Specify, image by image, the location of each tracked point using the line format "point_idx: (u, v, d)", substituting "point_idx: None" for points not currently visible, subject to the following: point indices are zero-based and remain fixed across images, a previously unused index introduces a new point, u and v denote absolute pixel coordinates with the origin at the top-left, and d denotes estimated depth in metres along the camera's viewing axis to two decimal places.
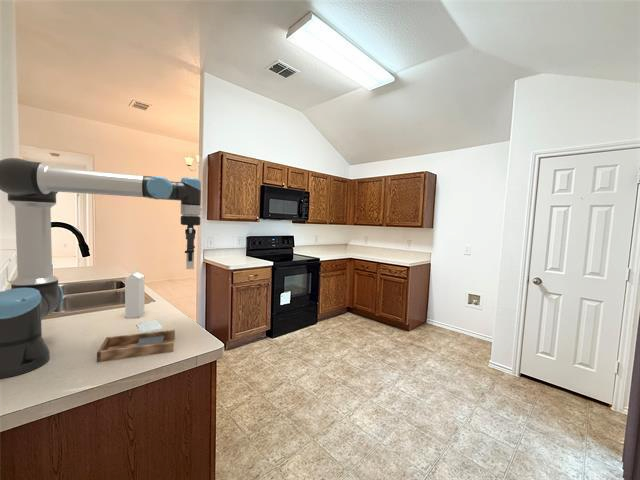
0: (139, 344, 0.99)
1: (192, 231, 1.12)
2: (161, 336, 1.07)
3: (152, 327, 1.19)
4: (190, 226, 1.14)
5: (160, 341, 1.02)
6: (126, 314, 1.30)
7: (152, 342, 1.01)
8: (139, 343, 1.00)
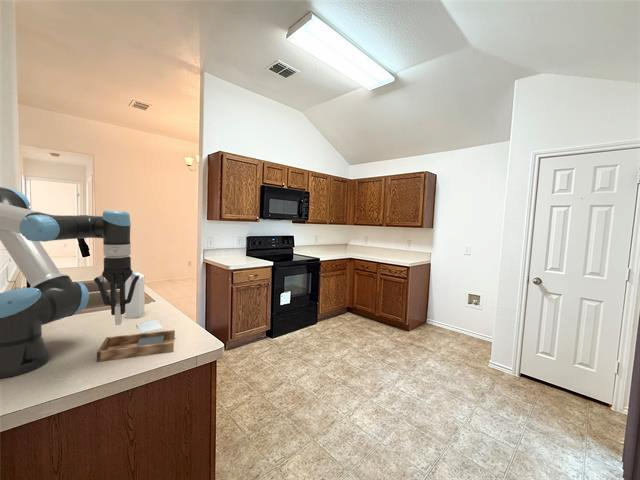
0: (139, 344, 0.99)
1: None
2: (161, 336, 1.07)
3: (151, 327, 1.19)
4: None
5: (160, 341, 1.02)
6: (126, 314, 1.30)
7: (152, 342, 1.01)
8: (139, 343, 1.00)
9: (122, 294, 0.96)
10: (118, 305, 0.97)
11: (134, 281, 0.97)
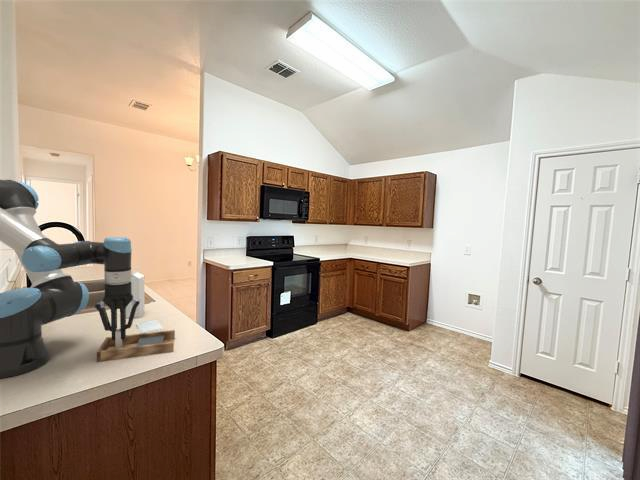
0: (139, 344, 0.99)
1: None
2: (161, 336, 1.07)
3: (151, 327, 1.19)
4: None
5: (160, 341, 1.02)
6: (126, 314, 1.30)
7: (152, 342, 1.01)
8: (139, 343, 1.00)
9: (123, 319, 0.97)
10: (118, 330, 0.98)
11: (134, 306, 0.98)
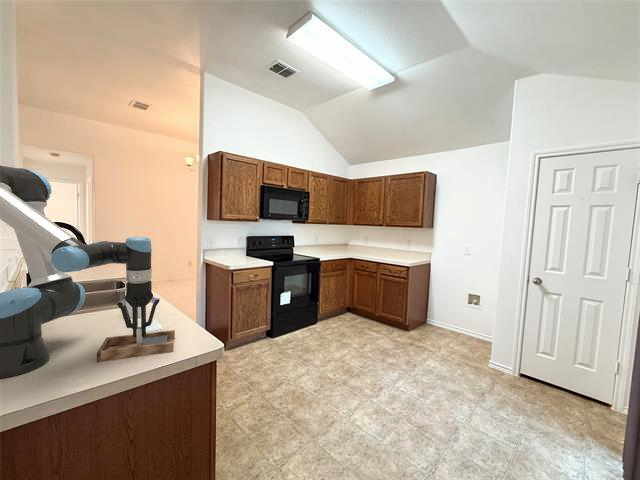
0: (143, 343, 1.00)
1: None
2: (165, 335, 1.07)
3: (151, 327, 1.19)
4: None
5: (164, 341, 1.03)
6: None
7: (156, 342, 1.02)
8: (143, 342, 1.01)
9: (143, 317, 1.00)
10: (139, 328, 1.00)
11: (155, 304, 1.01)
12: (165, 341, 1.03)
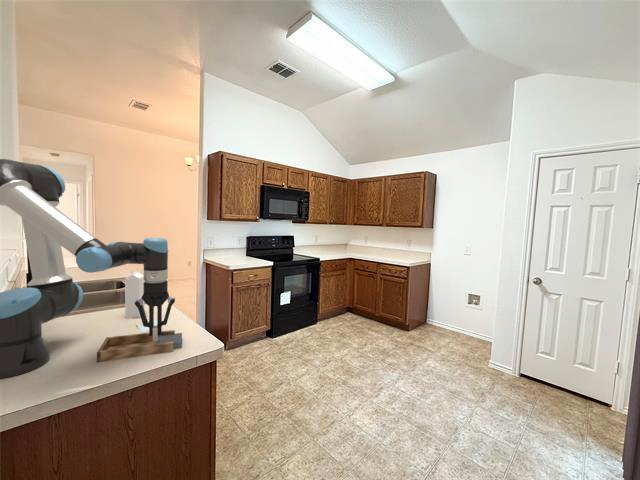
0: (159, 341, 1.02)
1: None
2: (179, 334, 1.09)
3: None
4: None
5: (179, 339, 1.05)
6: (126, 314, 1.30)
7: (171, 340, 1.04)
8: (159, 340, 1.03)
9: (159, 316, 1.02)
10: (155, 326, 1.03)
11: (170, 304, 1.03)
12: (180, 339, 1.05)
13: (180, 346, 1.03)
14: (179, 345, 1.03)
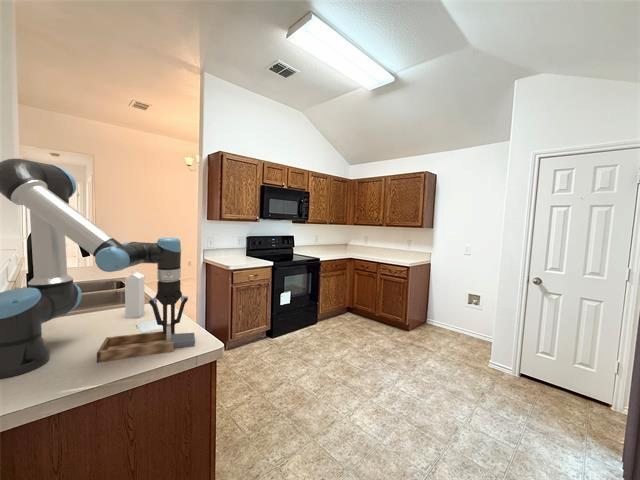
0: (173, 340, 1.04)
1: None
2: (192, 333, 1.11)
3: (151, 327, 1.19)
4: None
5: (192, 338, 1.07)
6: (126, 314, 1.30)
7: (184, 339, 1.06)
8: (173, 339, 1.05)
9: (173, 315, 1.04)
10: (169, 325, 1.04)
11: (183, 302, 1.05)
12: (193, 339, 1.07)
13: None
14: (192, 344, 1.05)
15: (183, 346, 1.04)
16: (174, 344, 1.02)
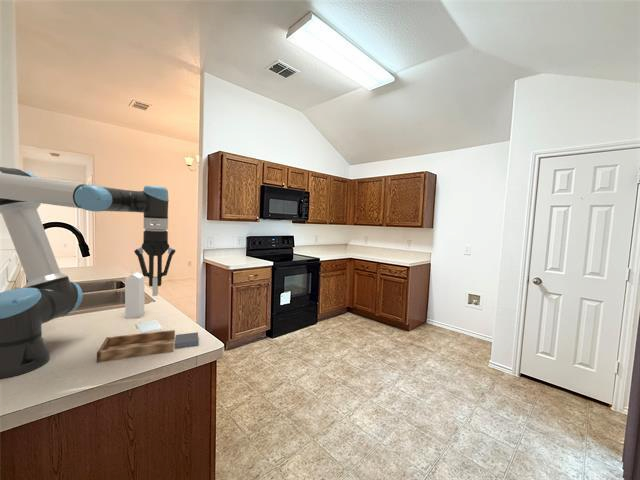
0: (177, 341, 1.05)
1: None
2: (195, 333, 1.12)
3: (151, 327, 1.19)
4: None
5: (196, 338, 1.07)
6: (126, 314, 1.30)
7: (188, 339, 1.07)
8: (176, 340, 1.05)
9: (159, 266, 1.00)
10: (155, 277, 1.01)
11: (171, 254, 1.02)
12: (197, 338, 1.07)
13: (197, 345, 1.06)
14: (196, 344, 1.06)
15: (187, 346, 1.04)
16: (178, 345, 1.03)
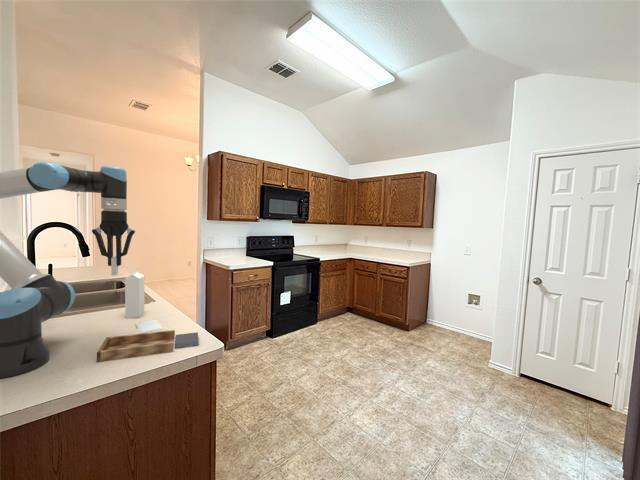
0: (177, 341, 1.05)
1: None
2: (195, 333, 1.12)
3: (151, 327, 1.19)
4: None
5: (196, 338, 1.07)
6: (126, 314, 1.30)
7: (188, 339, 1.07)
8: (176, 340, 1.05)
9: (118, 246, 1.02)
10: (114, 257, 1.03)
11: (130, 235, 1.03)
12: (197, 338, 1.07)
13: (197, 345, 1.06)
14: (196, 344, 1.06)
15: (187, 346, 1.04)
16: (178, 345, 1.03)
